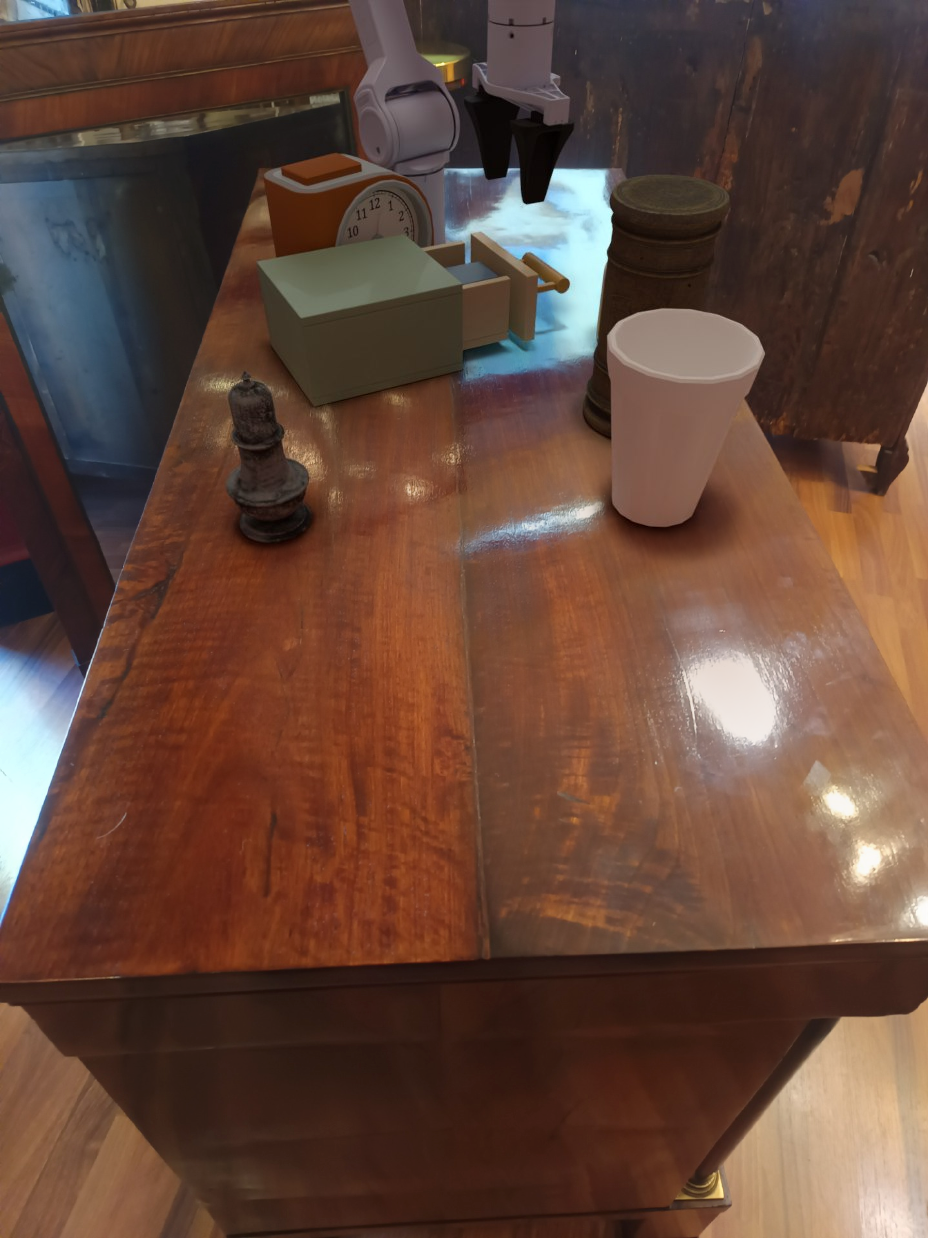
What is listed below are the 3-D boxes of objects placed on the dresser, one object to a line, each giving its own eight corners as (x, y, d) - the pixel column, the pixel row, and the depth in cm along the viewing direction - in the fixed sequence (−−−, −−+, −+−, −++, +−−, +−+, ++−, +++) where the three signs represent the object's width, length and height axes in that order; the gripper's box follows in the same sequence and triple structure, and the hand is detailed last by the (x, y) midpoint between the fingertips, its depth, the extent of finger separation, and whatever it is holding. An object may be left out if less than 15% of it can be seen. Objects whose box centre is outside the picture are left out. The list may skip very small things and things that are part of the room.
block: (442, 309, 81) (442, 268, 78) (479, 301, 82) (479, 260, 79) (460, 326, 78) (460, 284, 75) (497, 317, 79) (499, 276, 77)
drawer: (521, 284, 87) (524, 222, 83) (578, 329, 80) (585, 263, 76) (359, 320, 81) (353, 255, 77) (405, 371, 74) (401, 303, 70)
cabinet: (408, 314, 84) (404, 233, 78) (463, 369, 76) (463, 283, 71) (271, 345, 80) (255, 261, 74) (313, 407, 72) (300, 317, 66)
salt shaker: (274, 556, 58) (241, 405, 49) (218, 524, 60) (177, 375, 52) (332, 514, 61) (310, 366, 53) (277, 486, 64) (247, 340, 55)
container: (686, 450, 67) (739, 219, 54) (577, 438, 68) (602, 209, 55) (688, 394, 73) (735, 174, 60) (587, 384, 74) (612, 167, 62)
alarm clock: (323, 335, 81) (304, 187, 71) (276, 306, 86) (252, 164, 76) (437, 292, 88) (434, 152, 78) (389, 267, 92) (380, 132, 83)
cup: (740, 541, 59) (792, 374, 50) (605, 554, 58) (632, 386, 49) (693, 461, 66) (731, 302, 57) (572, 472, 65) (590, 312, 56)
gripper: (606, 30, 67) (588, 206, 77) (520, 1, 76) (514, 162, 86) (531, 39, 65) (523, 218, 75) (452, 8, 74) (453, 171, 84)
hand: (514, 189), depth 80 cm, fingers open, 7 cm apart
